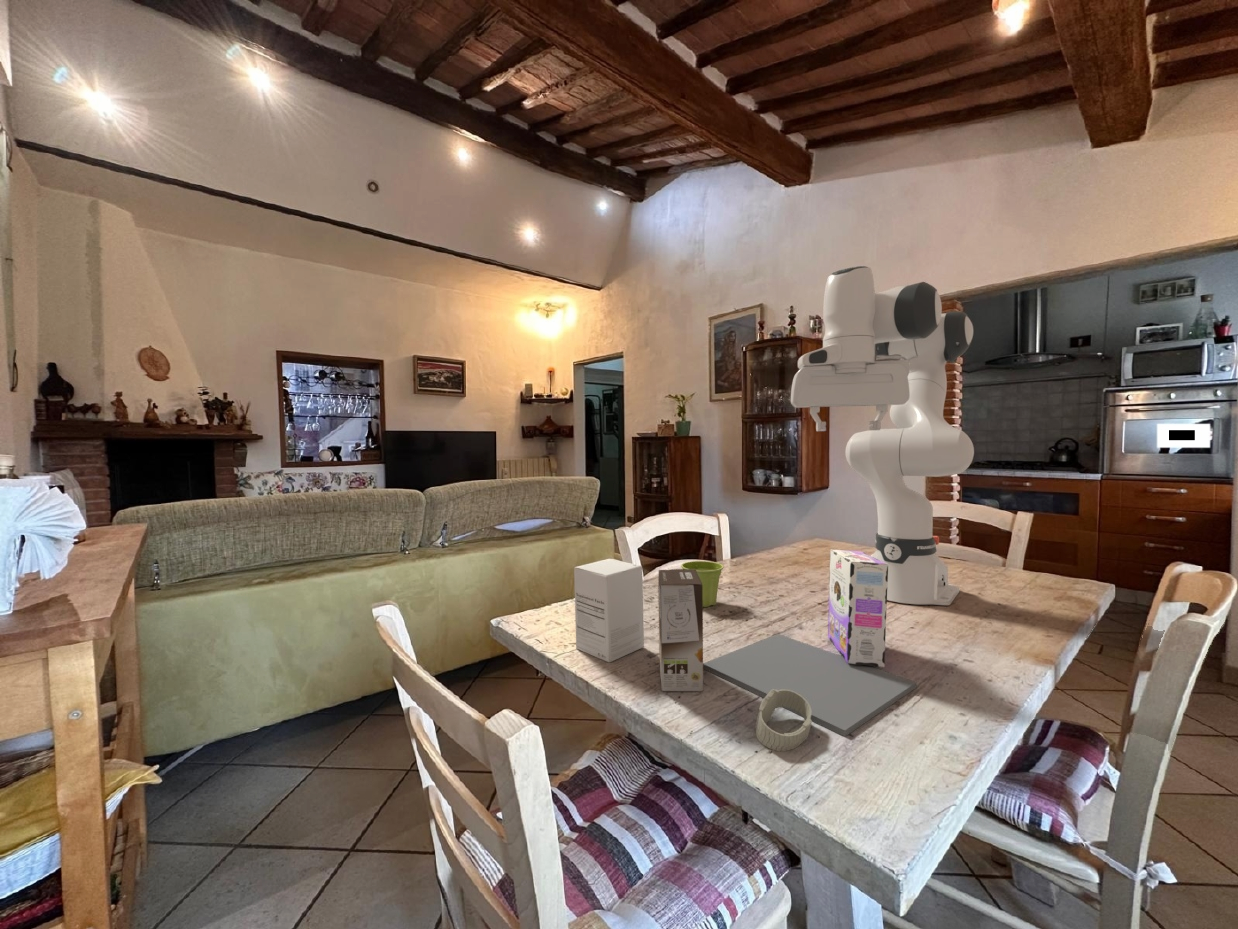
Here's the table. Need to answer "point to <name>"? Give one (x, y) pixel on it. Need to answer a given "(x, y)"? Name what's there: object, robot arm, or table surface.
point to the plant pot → (707, 578)
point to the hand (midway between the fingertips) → (847, 430)
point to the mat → (813, 680)
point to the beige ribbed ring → (765, 711)
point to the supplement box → (609, 608)
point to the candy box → (858, 607)
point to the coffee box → (680, 630)
